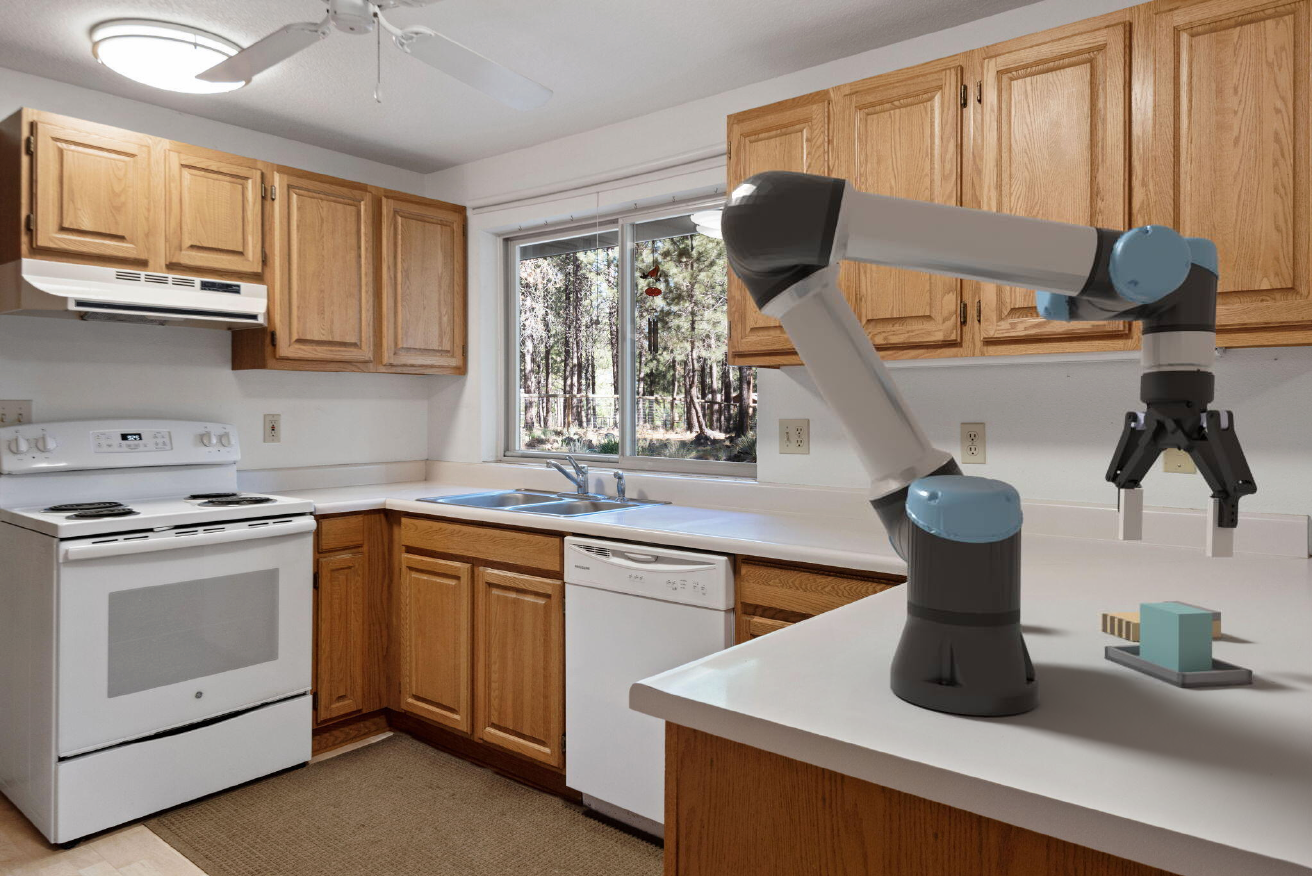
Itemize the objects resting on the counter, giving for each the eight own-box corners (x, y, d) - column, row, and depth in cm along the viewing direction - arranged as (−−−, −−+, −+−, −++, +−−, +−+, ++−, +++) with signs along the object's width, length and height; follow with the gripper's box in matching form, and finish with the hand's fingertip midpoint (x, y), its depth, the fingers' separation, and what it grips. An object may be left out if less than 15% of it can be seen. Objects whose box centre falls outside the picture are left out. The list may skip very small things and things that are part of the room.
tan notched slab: (1136, 642, 112) (1136, 615, 112) (1097, 629, 120) (1097, 603, 120) (1225, 638, 115) (1226, 611, 115) (1182, 625, 122) (1182, 600, 122)
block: (1178, 674, 96) (1178, 614, 96) (1139, 660, 102) (1140, 603, 102) (1211, 672, 97) (1212, 612, 97) (1171, 658, 103) (1172, 602, 103)
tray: (1181, 687, 93) (1181, 674, 93) (1104, 658, 105) (1104, 646, 105) (1252, 683, 94) (1252, 670, 94) (1168, 654, 106) (1168, 643, 106)
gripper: (1301, 364, 87) (1295, 564, 88) (1128, 377, 112) (1124, 534, 112) (1240, 361, 86) (1233, 565, 86) (1078, 375, 111) (1074, 534, 111)
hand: (1171, 548), depth 99 cm, fingers open, 13 cm apart
